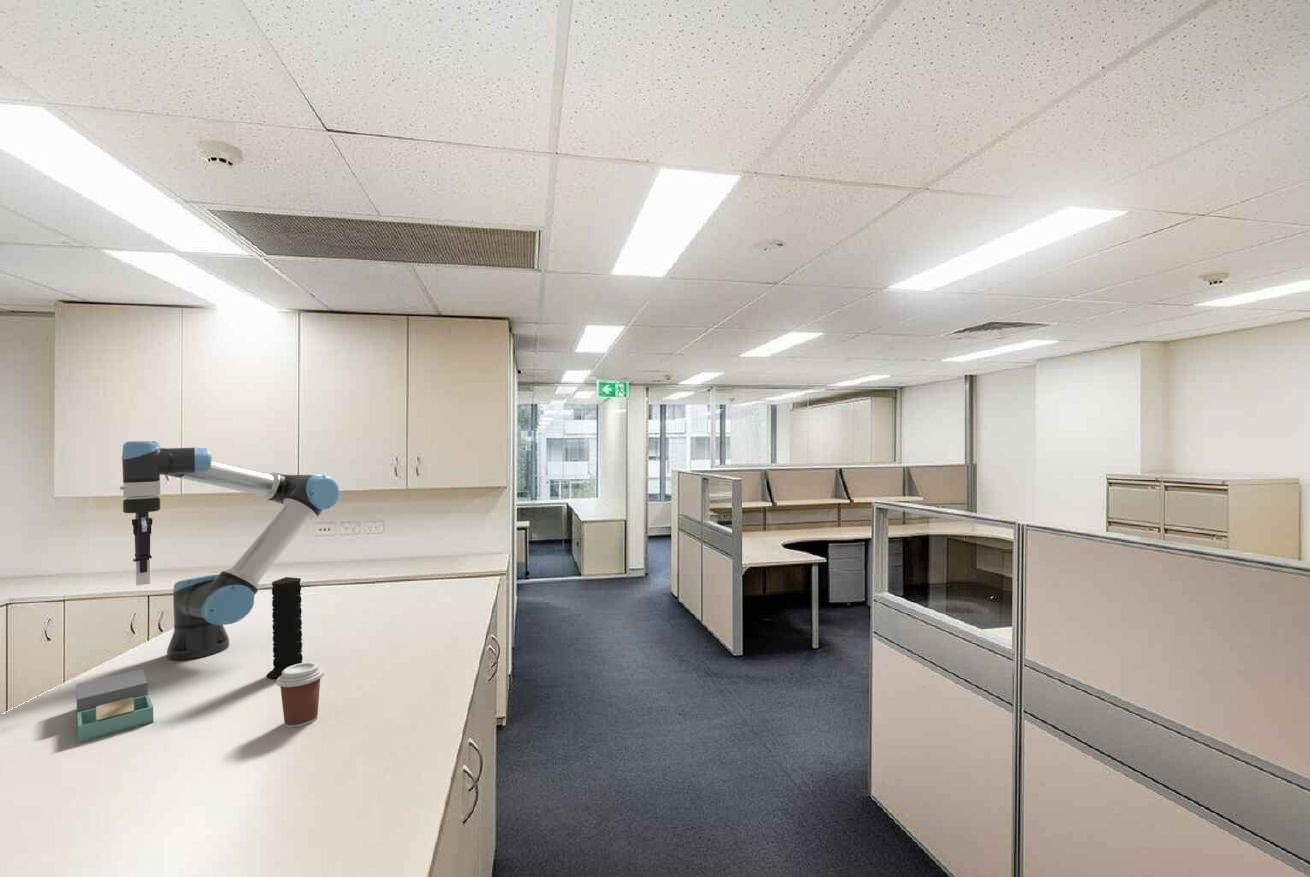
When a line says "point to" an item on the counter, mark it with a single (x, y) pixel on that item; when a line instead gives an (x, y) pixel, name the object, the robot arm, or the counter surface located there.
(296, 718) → the coffee cup
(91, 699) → the gray rectangular block
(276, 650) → the black ridged tower
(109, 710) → the tile
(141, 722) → the box
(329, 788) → the counter surface
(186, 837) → the counter surface
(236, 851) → the counter surface
